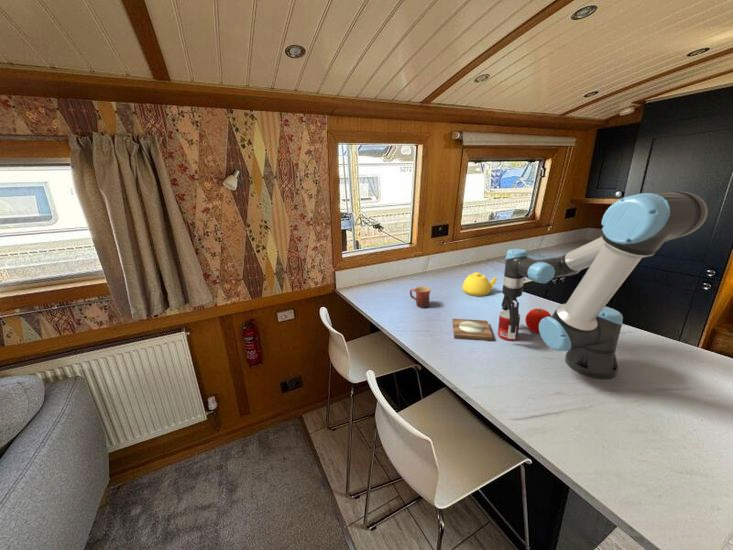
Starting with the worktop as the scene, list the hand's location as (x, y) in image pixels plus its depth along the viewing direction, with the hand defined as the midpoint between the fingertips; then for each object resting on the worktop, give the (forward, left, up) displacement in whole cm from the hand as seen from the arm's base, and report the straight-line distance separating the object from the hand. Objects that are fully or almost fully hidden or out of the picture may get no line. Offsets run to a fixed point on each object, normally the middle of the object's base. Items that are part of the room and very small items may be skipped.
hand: (507, 330), depth 126 cm
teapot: (+56, +5, -3) cm, 56 cm away
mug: (+30, +40, -3) cm, 50 cm away
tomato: (+7, -14, -3) cm, 16 cm away
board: (+3, +15, -3) cm, 15 cm away
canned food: (0, 0, -3) cm, 3 cm away
